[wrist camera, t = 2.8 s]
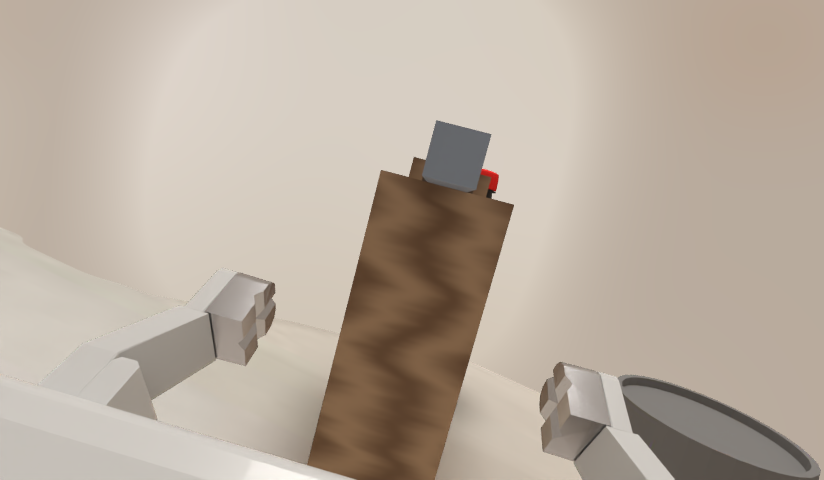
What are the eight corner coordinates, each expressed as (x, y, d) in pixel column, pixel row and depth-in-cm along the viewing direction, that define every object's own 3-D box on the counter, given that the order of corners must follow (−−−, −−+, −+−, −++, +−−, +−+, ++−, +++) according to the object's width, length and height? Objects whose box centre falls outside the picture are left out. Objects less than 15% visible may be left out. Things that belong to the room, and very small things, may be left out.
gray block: (422, 175, 22) (436, 120, 22) (431, 187, 42) (439, 158, 42) (475, 189, 22) (491, 134, 22) (460, 194, 42) (467, 165, 42)
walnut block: (301, 487, 33) (386, 149, 30) (347, 394, 49) (405, 167, 46) (421, 523, 33) (519, 184, 30) (428, 417, 49) (492, 189, 46)
